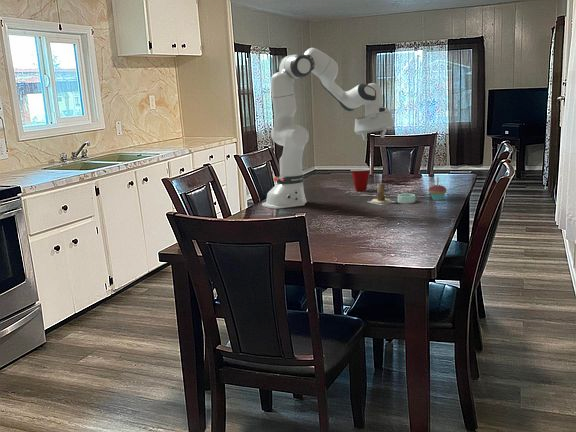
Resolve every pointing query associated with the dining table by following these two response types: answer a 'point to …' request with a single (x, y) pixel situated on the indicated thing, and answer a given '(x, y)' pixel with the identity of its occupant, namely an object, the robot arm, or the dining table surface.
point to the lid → (381, 195)
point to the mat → (381, 204)
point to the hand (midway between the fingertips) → (373, 138)
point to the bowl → (406, 198)
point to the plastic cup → (360, 178)
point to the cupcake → (437, 191)
